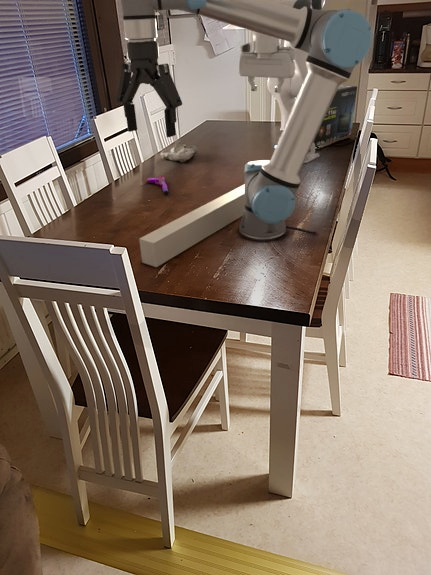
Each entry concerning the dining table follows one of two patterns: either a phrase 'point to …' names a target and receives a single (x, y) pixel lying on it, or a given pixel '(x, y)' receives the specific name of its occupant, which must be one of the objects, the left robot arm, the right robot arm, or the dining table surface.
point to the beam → (192, 228)
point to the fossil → (179, 152)
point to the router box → (338, 116)
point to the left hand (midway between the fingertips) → (151, 133)
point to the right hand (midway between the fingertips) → (265, 91)
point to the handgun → (161, 182)
